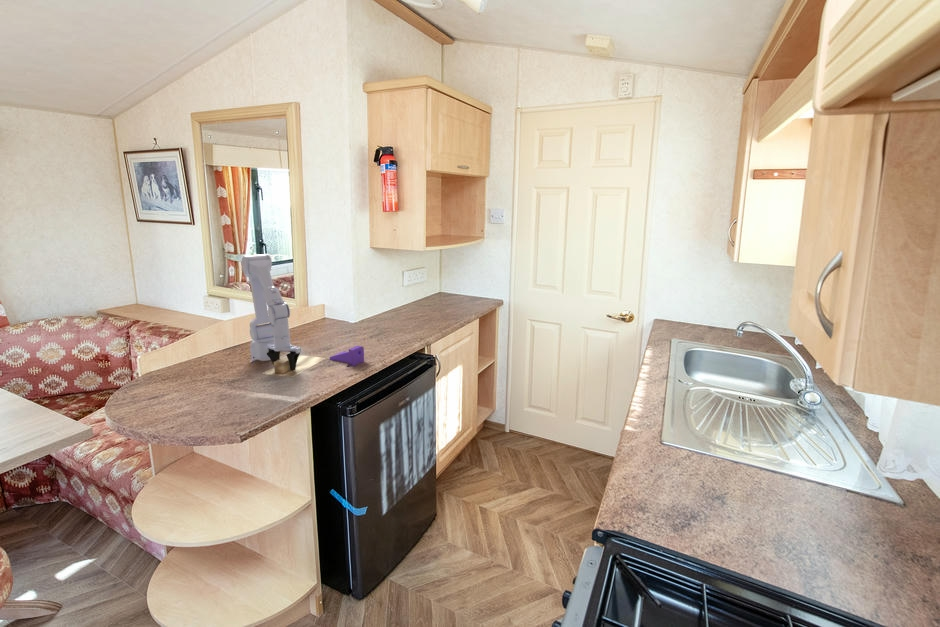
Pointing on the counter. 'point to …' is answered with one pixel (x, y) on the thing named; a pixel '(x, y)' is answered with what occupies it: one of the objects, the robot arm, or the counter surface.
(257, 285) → the robot arm
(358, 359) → the bracket
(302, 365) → the board
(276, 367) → the block
